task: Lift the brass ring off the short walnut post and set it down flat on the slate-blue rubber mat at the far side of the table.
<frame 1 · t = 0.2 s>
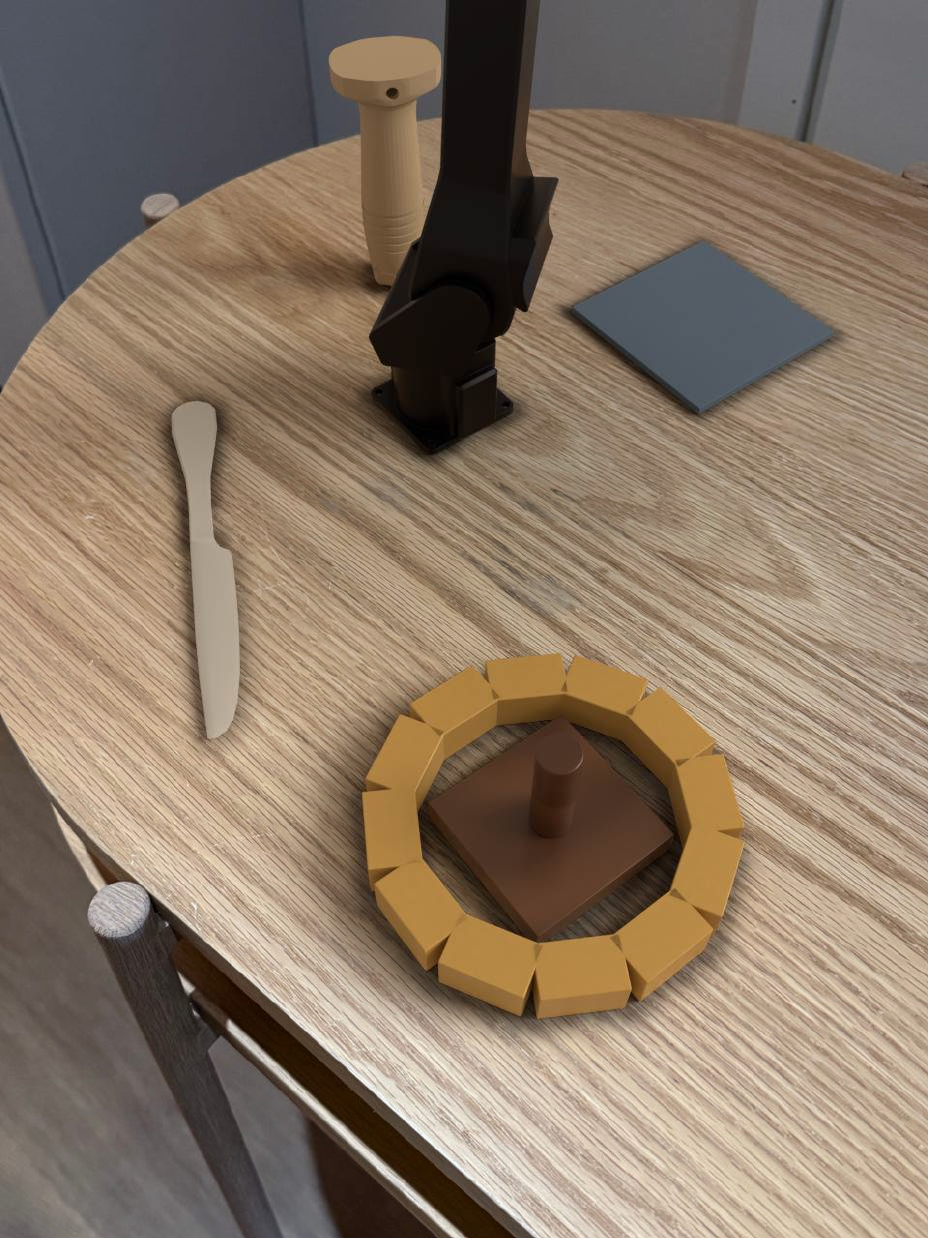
butter knife: (206, 556, 63), on the table
mat: (700, 324, 75), on the table
ring: (548, 833, 53), on the table
post: (548, 833, 53), on the table
handle: (396, 278, 78), on the table
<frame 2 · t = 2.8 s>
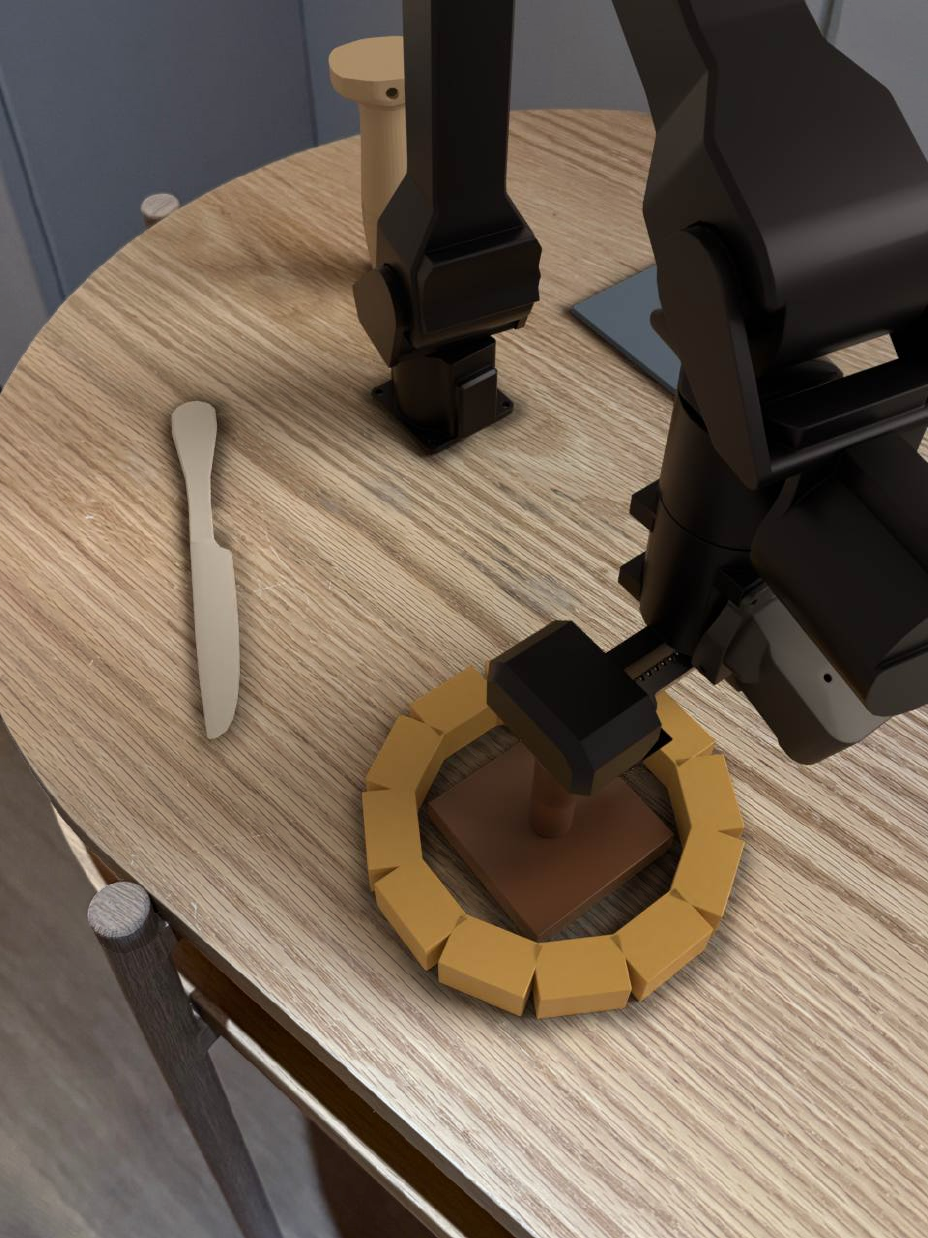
hand: (675, 725, 53), 3 cm above the table, tool pointing down, fingers open, 7 cm apart
nothing on the table moved.
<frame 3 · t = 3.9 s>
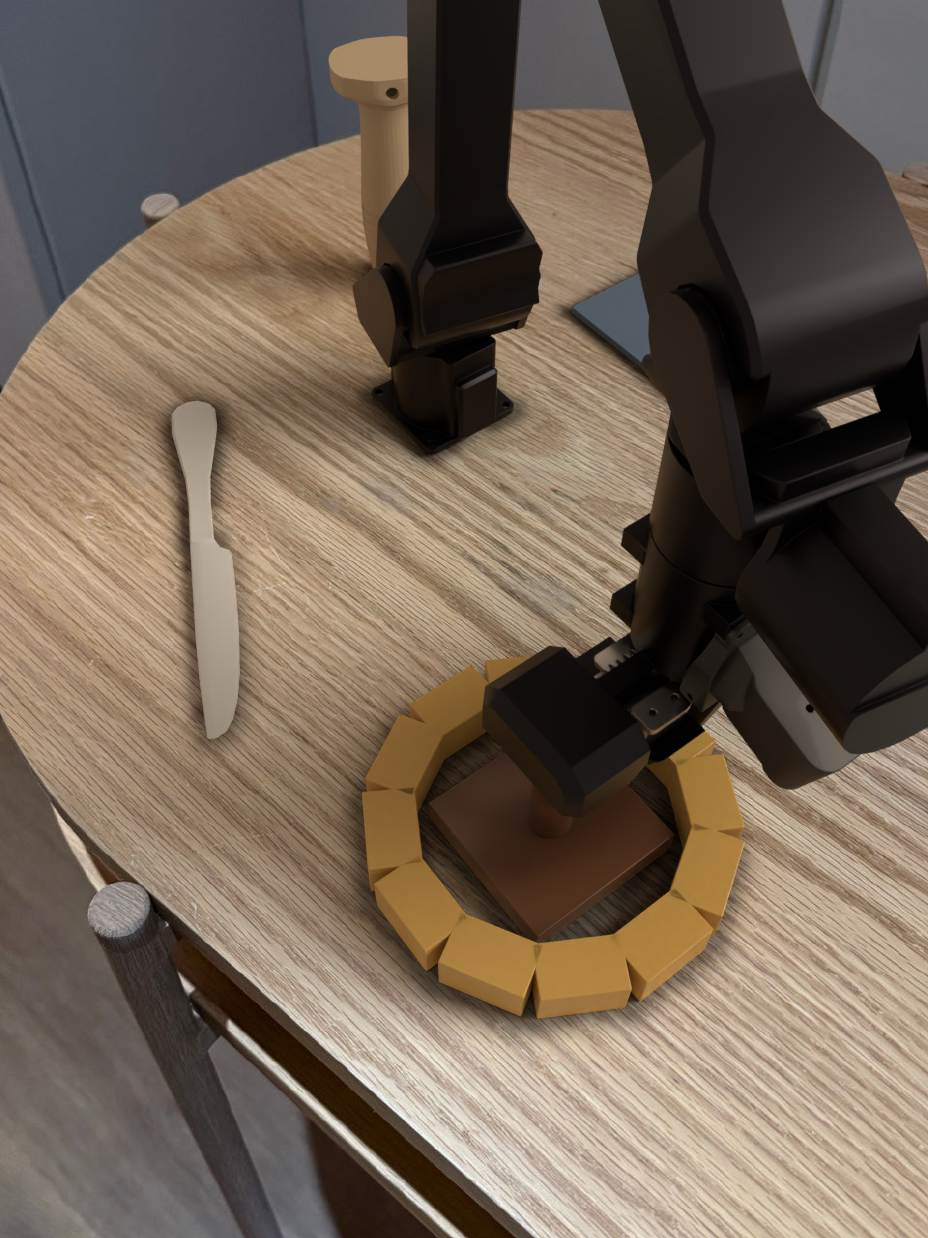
hand: (665, 741, 55), 1 cm above the table, tool pointing down, fingers closed on ring, 2 cm apart
ring: (548, 833, 53), on the table, touching gripper
everything else where it was.
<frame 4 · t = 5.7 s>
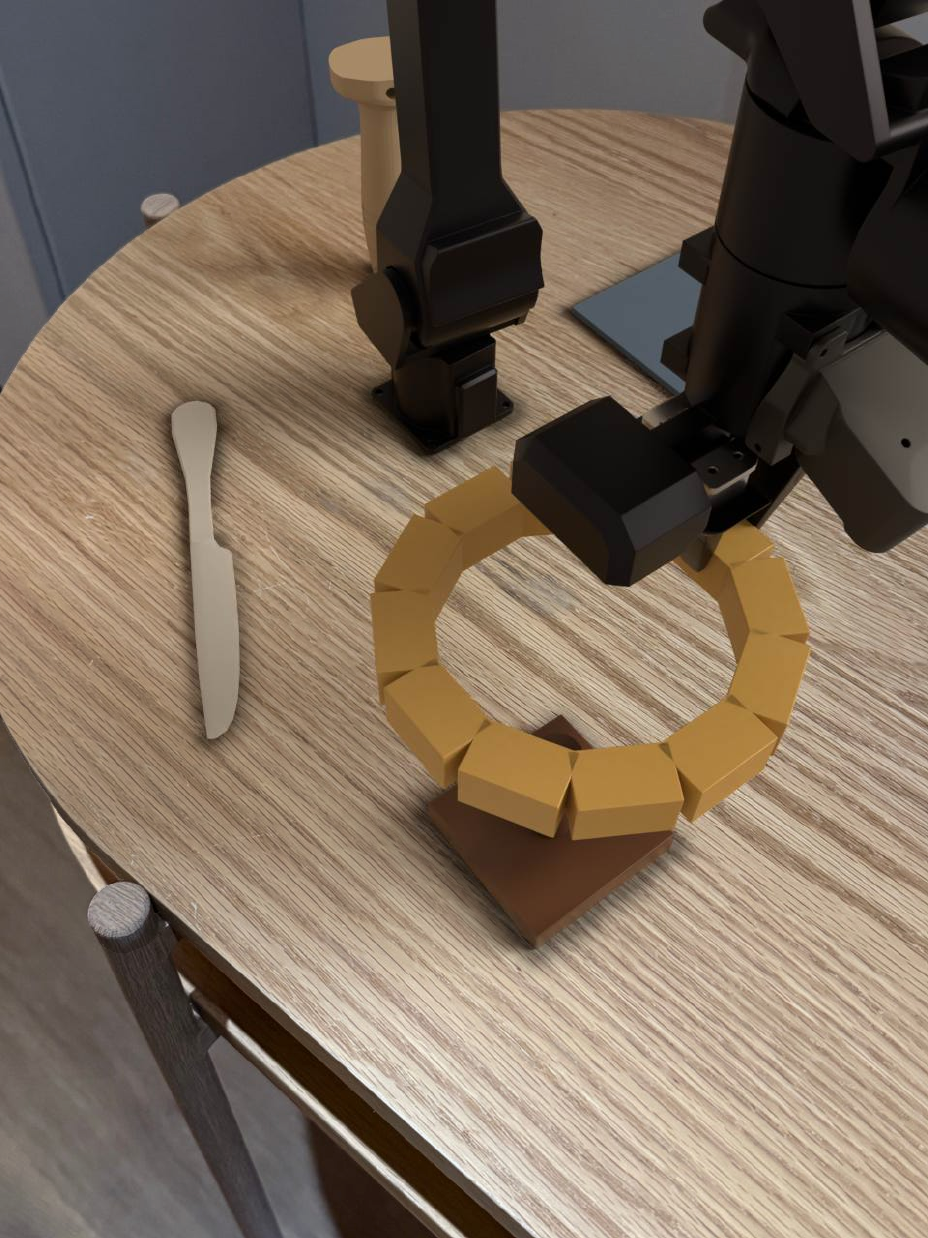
hand: (715, 549, 48), 12 cm above the table, tool pointing down, fingers closed on ring, 2 cm apart
ring: (582, 646, 47), point 11 cm above the table, touching gripper
everything else where it was.
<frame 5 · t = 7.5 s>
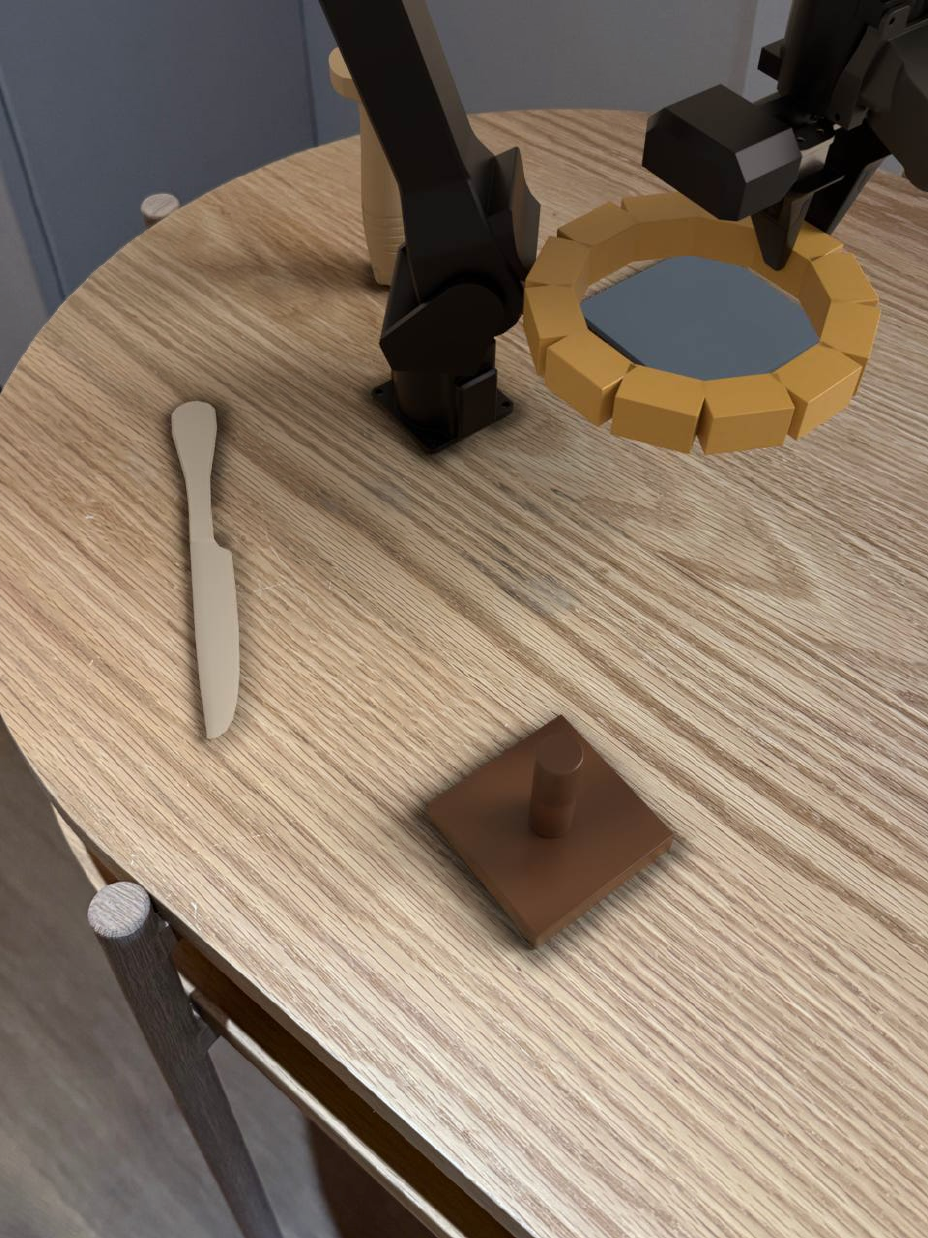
hand: (791, 256, 60), 12 cm above the table, tool pointing down, fingers closed on ring, 2 cm apart
ring: (693, 332, 58), point 11 cm above the table, touching arm, gripper
everything else where it was.
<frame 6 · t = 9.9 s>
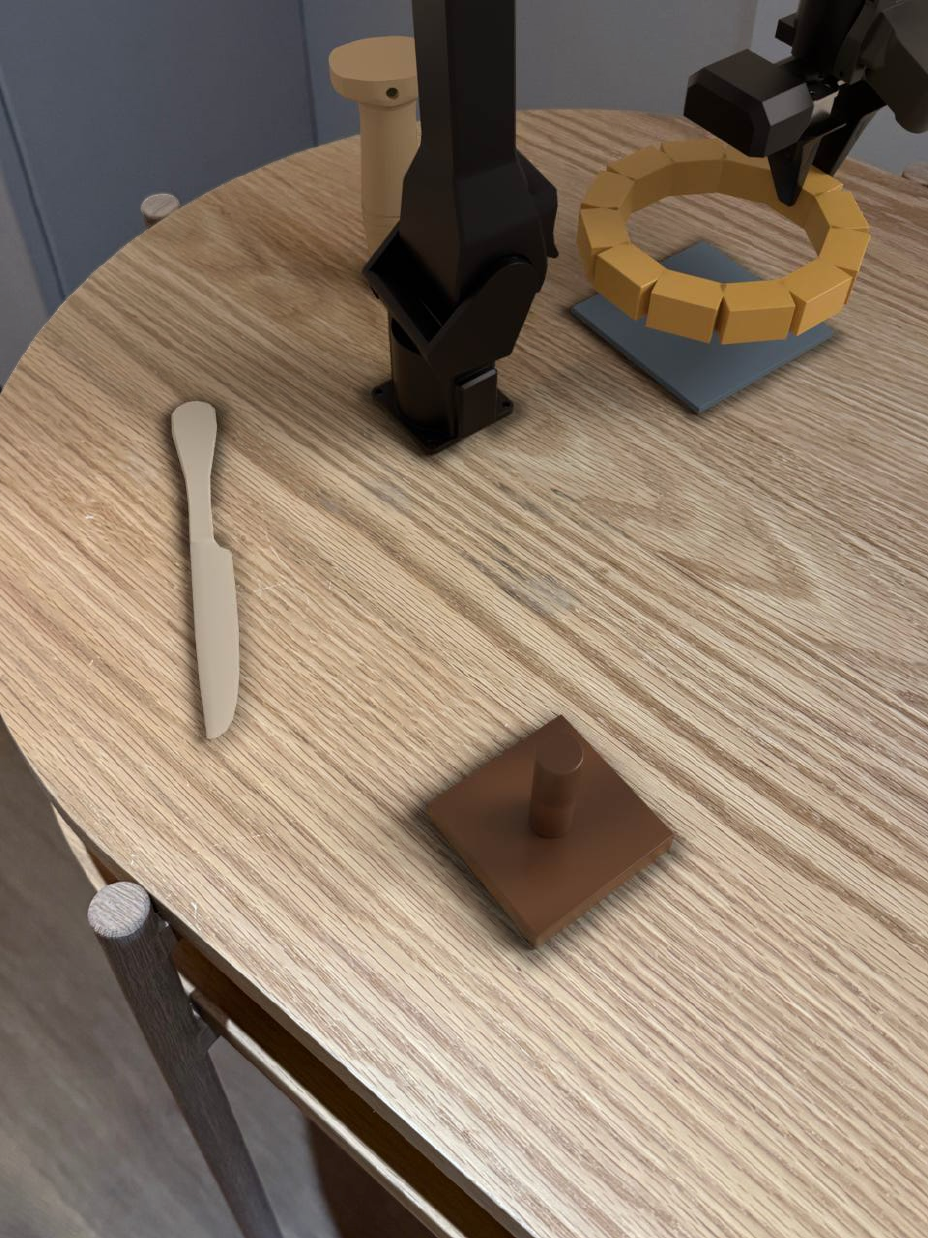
hand: (800, 195, 72), 7 cm above the table, tool pointing down, fingers closed on ring, 2 cm apart
ring: (716, 251, 70), point 6 cm above the table, touching gripper
everything else where it was.
when the fingers open (1 cm above the table, at t = 11.4 s): ring stays where it is, resting on mat.
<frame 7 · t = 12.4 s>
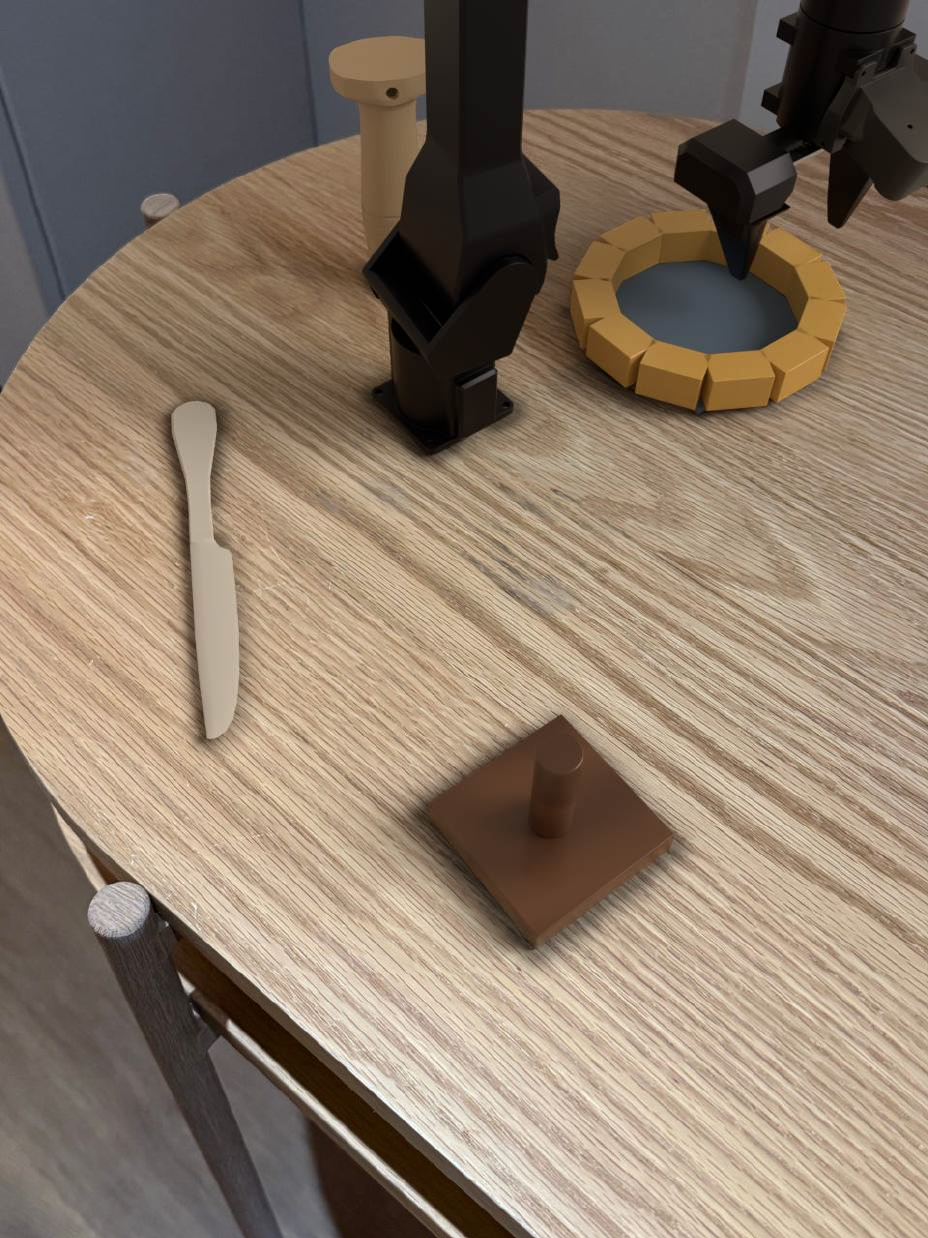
hand: (787, 250, 75), 3 cm above the table, tool pointing down, fingers open, 9 cm apart
ring: (702, 319, 74), resting on mat
everything else where it was.
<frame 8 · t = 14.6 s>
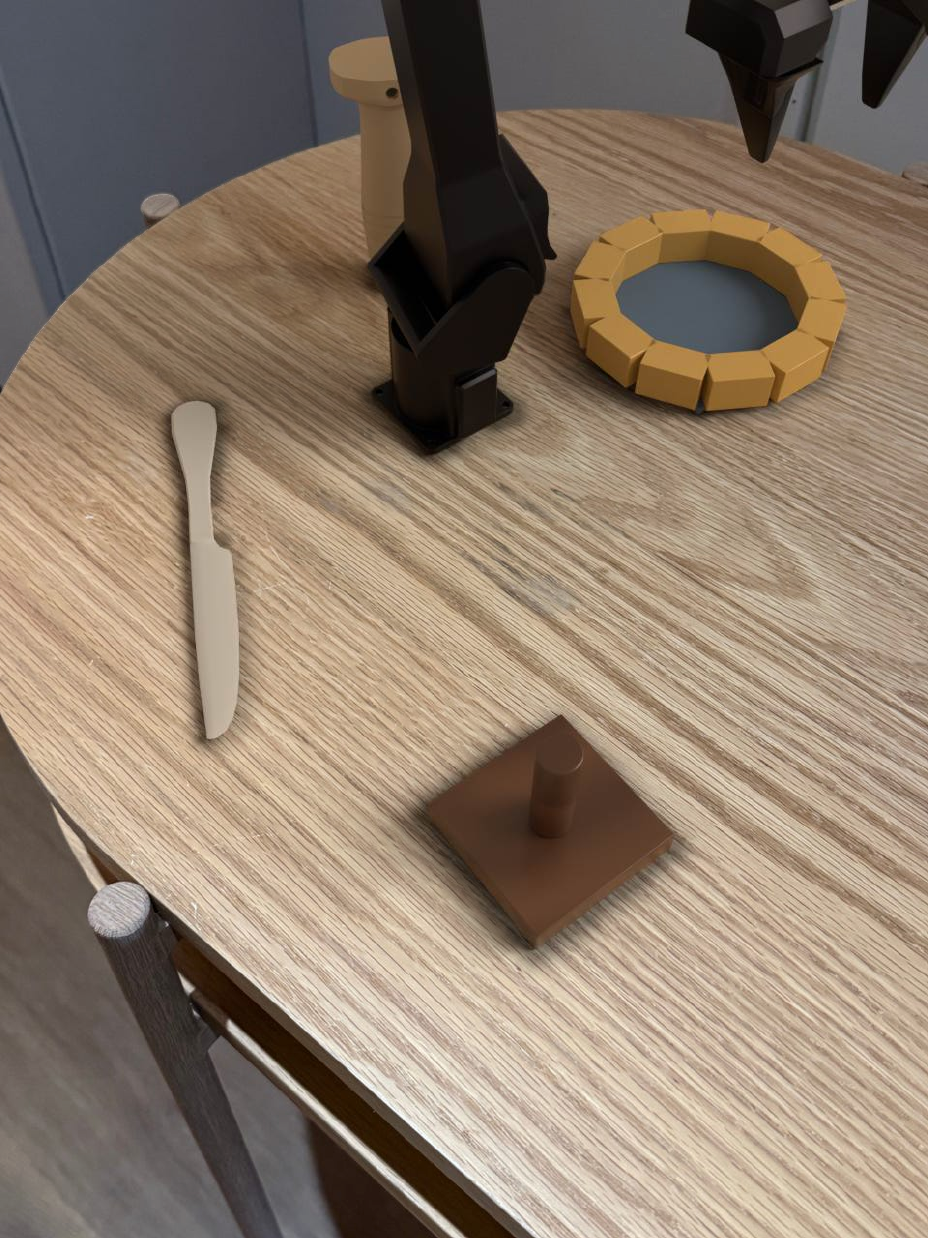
hand: (815, 131, 65), 13 cm above the table, tool pointing down, fingers open, 9 cm apart
nothing on the table moved.
at the end: ring inside the target area on the mat (0.1 cm from its centre), point 0.5 cm above the mat's base; ring tilted 0° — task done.
